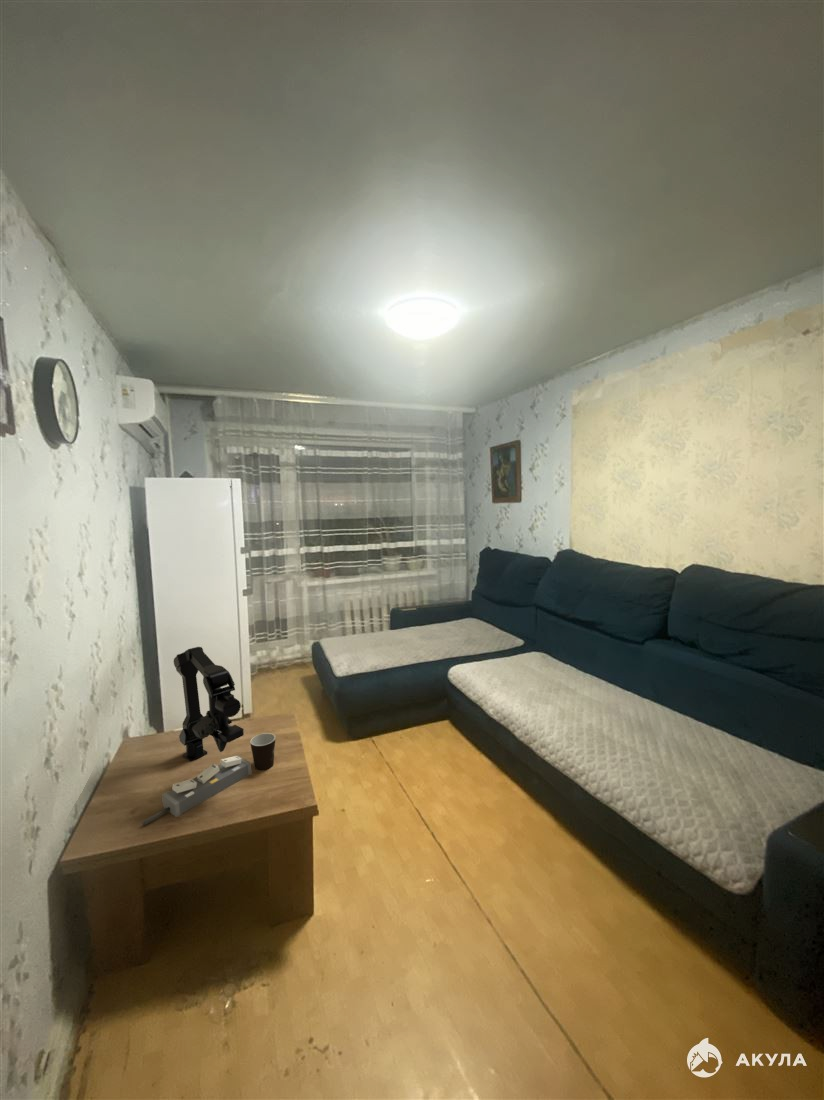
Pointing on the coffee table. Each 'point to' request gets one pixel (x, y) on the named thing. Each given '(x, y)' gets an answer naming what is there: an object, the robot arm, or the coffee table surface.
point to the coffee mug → (263, 751)
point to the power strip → (202, 790)
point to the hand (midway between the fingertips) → (221, 751)
